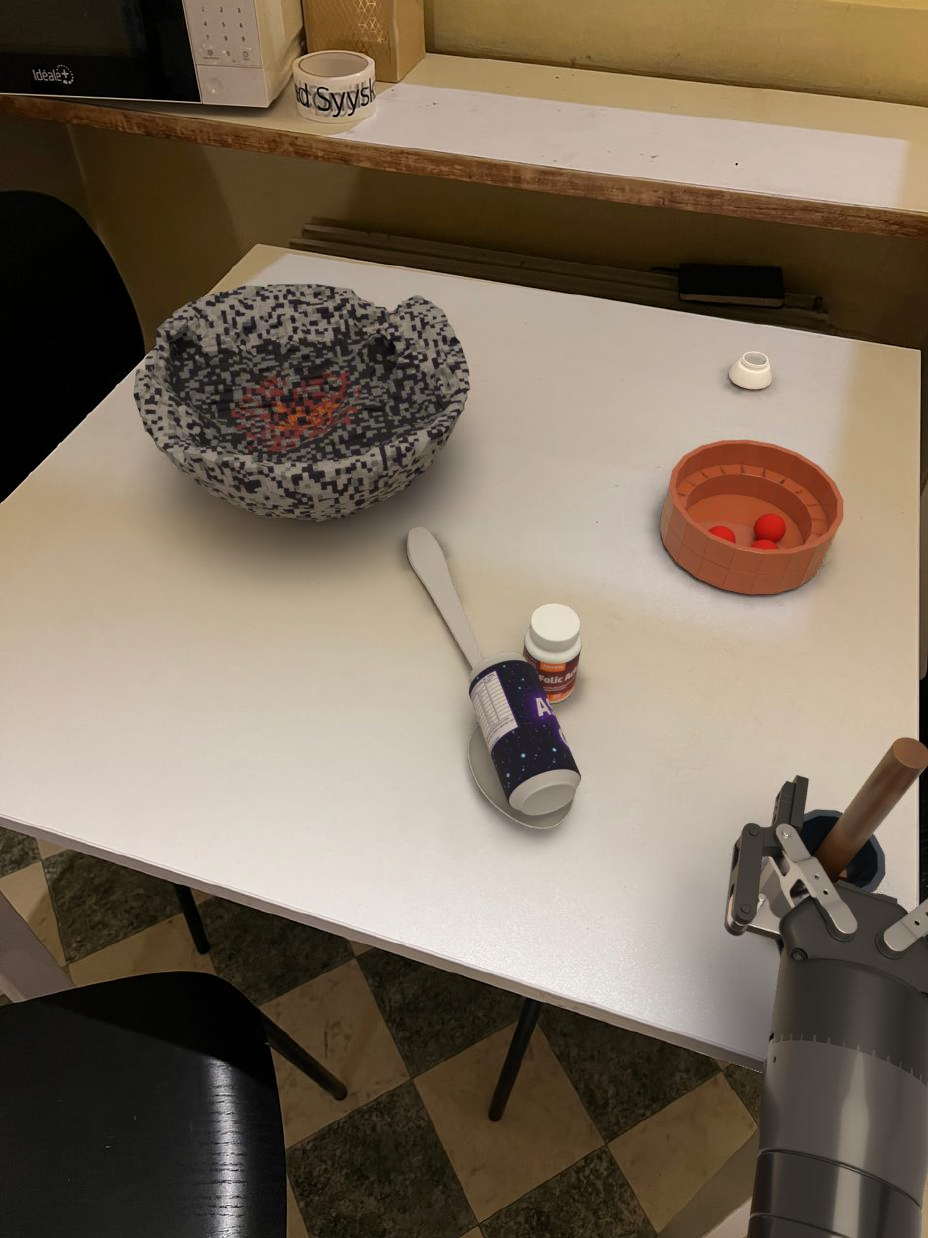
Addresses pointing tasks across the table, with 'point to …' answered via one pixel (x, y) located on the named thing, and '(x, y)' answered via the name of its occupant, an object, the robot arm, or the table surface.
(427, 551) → the spoon
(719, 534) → the tomato
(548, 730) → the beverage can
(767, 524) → the red ball
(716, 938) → the table surface
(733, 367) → the lidless jar
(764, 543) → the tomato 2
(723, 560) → the stew bowl
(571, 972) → the table surface
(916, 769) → the stick
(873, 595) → the table surface
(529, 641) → the pill bottle
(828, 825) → the holder
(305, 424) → the bowl
